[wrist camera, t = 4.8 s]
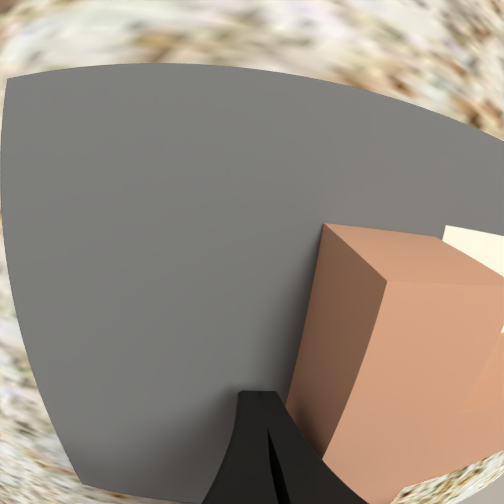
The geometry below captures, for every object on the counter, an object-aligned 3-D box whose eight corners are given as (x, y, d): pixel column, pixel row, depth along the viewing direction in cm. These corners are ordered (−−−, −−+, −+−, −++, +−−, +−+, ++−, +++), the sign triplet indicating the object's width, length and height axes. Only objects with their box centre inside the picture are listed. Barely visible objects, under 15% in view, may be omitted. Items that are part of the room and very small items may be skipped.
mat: (593, 197, 10) (598, 199, 10) (481, 452, 16) (483, 455, 16) (13, 80, 7) (6, 78, 7) (83, 478, 13) (82, 484, 13)
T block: (547, 254, 10) (605, 287, 6) (458, 439, 14) (486, 483, 10) (323, 222, 9) (387, 281, 5) (266, 472, 13) (276, 542, 9)
